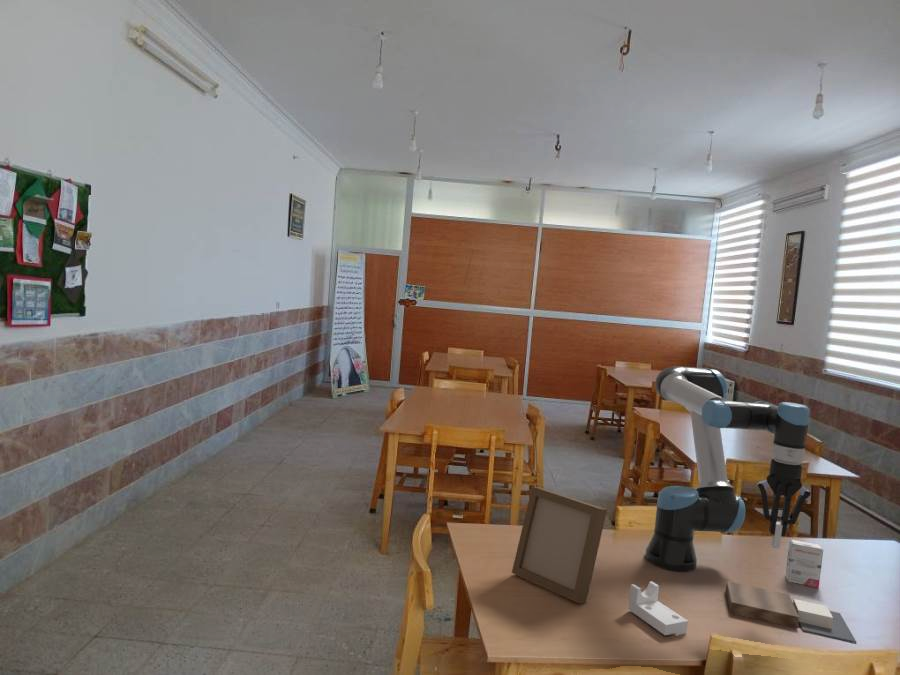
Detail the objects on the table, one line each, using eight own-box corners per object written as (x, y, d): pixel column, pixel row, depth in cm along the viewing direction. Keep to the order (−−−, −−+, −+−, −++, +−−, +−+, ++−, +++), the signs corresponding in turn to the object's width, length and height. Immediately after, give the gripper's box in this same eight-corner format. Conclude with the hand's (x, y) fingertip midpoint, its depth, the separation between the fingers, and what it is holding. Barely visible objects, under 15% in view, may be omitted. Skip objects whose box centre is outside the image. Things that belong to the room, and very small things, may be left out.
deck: (730, 613, 169) (731, 602, 169) (725, 591, 182) (726, 581, 182) (797, 628, 164) (798, 617, 163) (787, 604, 177) (788, 594, 177)
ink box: (815, 581, 195) (820, 544, 194) (819, 588, 190) (824, 549, 189) (784, 575, 197) (788, 538, 197) (786, 581, 193) (791, 543, 192)
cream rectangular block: (797, 621, 167) (798, 610, 166) (792, 609, 173) (793, 598, 173) (831, 629, 164) (833, 617, 164) (825, 616, 171) (826, 606, 170)
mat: (802, 631, 162) (802, 629, 162) (790, 603, 178) (791, 602, 178) (856, 643, 159) (856, 641, 159) (839, 614, 174) (839, 613, 174)
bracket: (627, 612, 165) (631, 584, 164) (648, 608, 168) (651, 581, 167) (664, 639, 153) (668, 609, 152) (686, 634, 156) (689, 605, 155)
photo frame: (577, 606, 165) (588, 512, 163) (511, 576, 179) (520, 489, 178) (606, 591, 176) (616, 502, 174) (541, 563, 190) (550, 481, 189)
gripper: (762, 460, 168) (750, 546, 170) (817, 468, 164) (805, 557, 166) (758, 453, 175) (747, 536, 177) (811, 462, 171) (799, 546, 173)
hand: (775, 546), depth 171 cm, fingers closed
